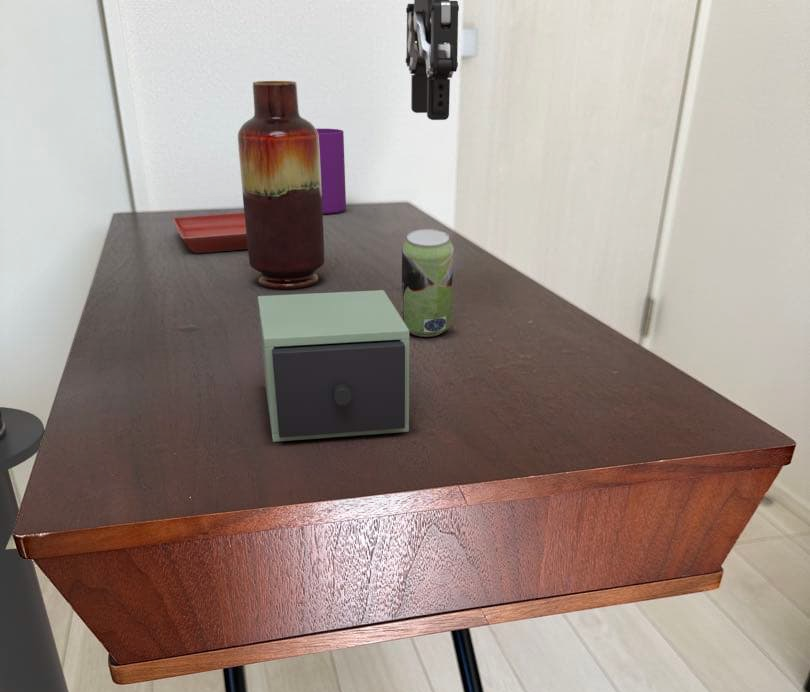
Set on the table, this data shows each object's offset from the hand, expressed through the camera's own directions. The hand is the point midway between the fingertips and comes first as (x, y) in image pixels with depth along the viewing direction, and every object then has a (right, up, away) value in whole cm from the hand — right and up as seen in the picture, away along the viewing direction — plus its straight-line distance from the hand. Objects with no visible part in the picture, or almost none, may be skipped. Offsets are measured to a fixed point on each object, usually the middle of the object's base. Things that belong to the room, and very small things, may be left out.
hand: (429, 115), depth 91 cm
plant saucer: (-33, +6, +57) cm, 66 cm away
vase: (-20, -8, +34) cm, 40 cm away
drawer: (-9, -34, -11) cm, 36 cm away
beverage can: (0, -21, +13) cm, 24 cm away
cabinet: (-10, -33, -8) cm, 35 cm away
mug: (-22, +22, +82) cm, 88 cm away
